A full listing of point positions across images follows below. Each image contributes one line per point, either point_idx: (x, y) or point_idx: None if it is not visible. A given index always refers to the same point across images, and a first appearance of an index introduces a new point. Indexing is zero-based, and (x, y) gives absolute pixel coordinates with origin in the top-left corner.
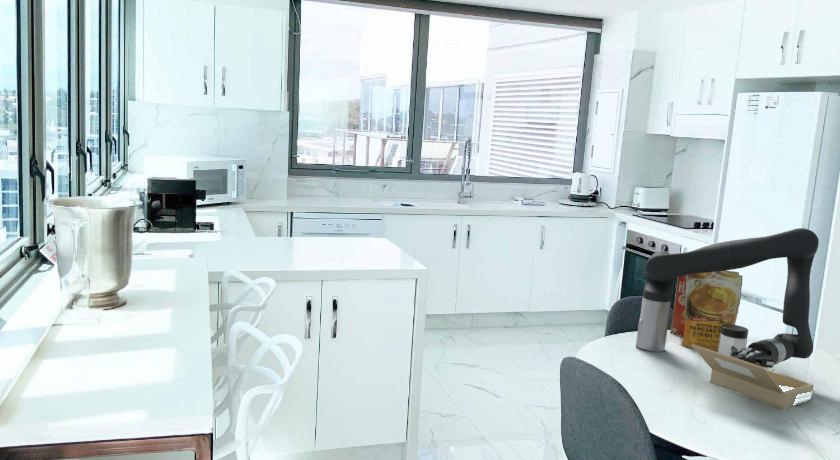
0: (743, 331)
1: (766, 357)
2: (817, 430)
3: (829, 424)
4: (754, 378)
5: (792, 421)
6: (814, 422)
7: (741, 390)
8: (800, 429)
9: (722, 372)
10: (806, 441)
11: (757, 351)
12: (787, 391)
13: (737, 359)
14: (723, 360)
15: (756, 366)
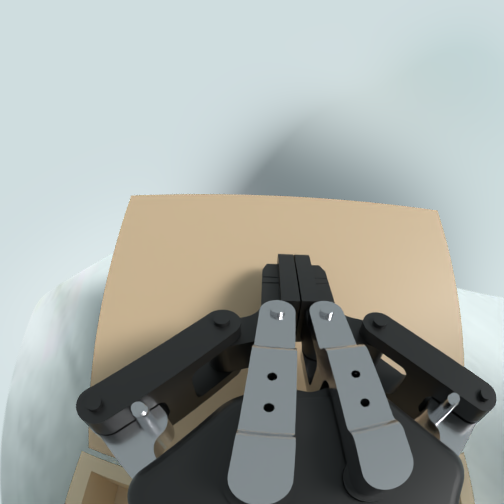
0: None
1: (141, 409)
2: (35, 372)
3: (7, 430)
4: None
5: (81, 388)
6: (34, 421)
7: None
8: (68, 352)
9: None
10: (67, 306)
11: (265, 440)
12: (82, 486)
13: (240, 197)
14: (333, 262)
15: (159, 198)
